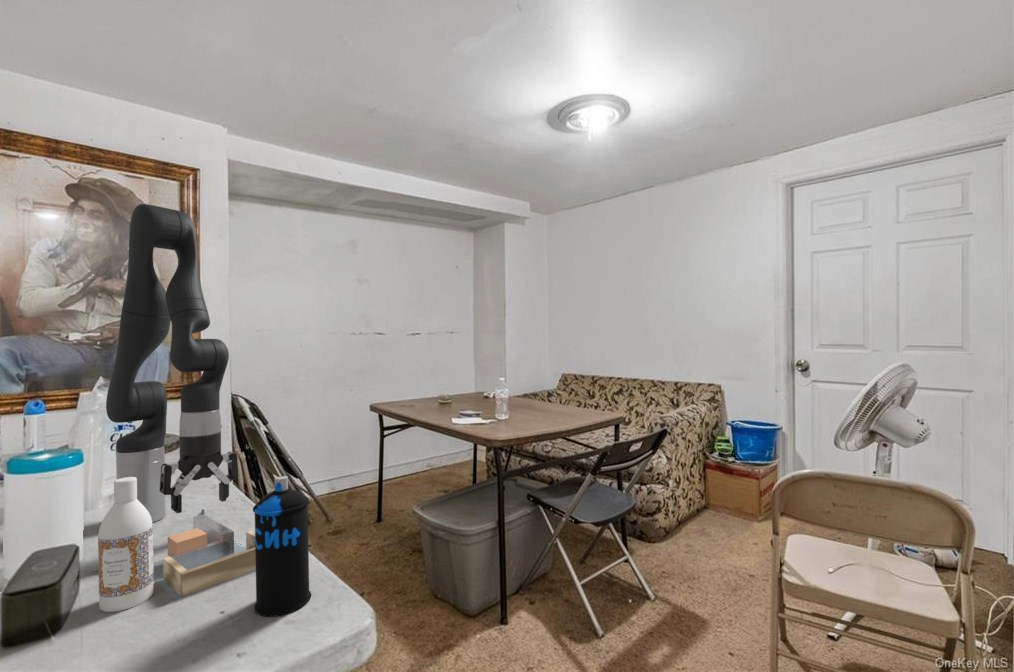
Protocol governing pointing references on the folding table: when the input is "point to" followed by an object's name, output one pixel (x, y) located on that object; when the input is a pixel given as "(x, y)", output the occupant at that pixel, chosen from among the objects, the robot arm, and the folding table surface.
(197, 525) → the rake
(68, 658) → the folding table surface
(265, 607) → the aerosol can
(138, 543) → the bath foam
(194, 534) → the block
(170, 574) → the stall
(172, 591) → the mat
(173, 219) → the robot arm
